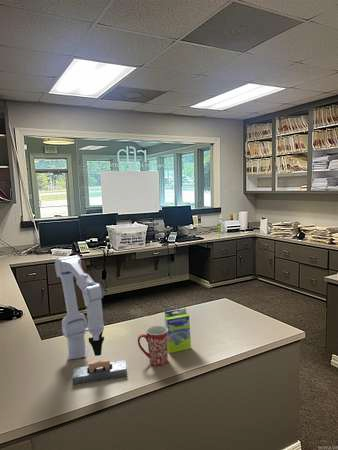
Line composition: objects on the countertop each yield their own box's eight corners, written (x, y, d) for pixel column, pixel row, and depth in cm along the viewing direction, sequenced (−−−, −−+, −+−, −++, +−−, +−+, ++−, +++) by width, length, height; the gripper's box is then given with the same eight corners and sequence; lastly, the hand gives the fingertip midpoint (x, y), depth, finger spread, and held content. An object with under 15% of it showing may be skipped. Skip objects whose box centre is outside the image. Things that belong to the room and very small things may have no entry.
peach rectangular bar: (89, 376, 128) (88, 361, 128) (110, 372, 130) (109, 358, 129) (89, 379, 126) (88, 364, 125) (110, 375, 127) (109, 361, 127)
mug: (170, 355, 140) (168, 324, 139) (169, 366, 131) (167, 334, 130) (140, 356, 141) (138, 326, 139) (138, 368, 132) (135, 335, 130)
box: (169, 353, 142) (166, 315, 140) (166, 349, 145) (163, 311, 144) (191, 348, 145) (189, 310, 143) (188, 344, 149) (186, 307, 147)
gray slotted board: (74, 375, 129) (73, 368, 129) (125, 367, 133) (125, 359, 133) (73, 385, 122) (72, 378, 122) (127, 376, 126) (126, 368, 126)
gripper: (85, 311, 132) (88, 343, 133) (83, 325, 117) (86, 361, 119) (103, 308, 133) (105, 341, 134) (103, 322, 119) (106, 358, 120)
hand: (98, 350), depth 127 cm, fingers open, 7 cm apart
